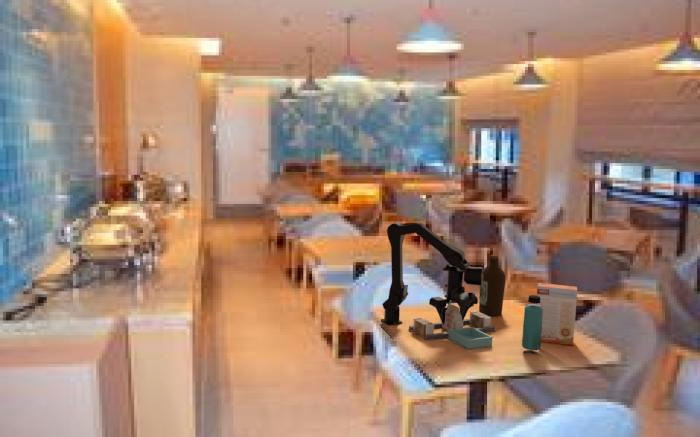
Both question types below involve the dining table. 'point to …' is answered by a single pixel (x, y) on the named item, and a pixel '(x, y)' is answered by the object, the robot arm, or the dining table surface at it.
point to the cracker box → (557, 312)
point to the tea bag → (451, 317)
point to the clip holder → (458, 324)
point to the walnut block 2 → (477, 319)
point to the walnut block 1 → (421, 326)
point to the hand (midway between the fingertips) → (452, 322)
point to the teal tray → (470, 338)
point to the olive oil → (492, 288)
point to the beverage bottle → (532, 324)
